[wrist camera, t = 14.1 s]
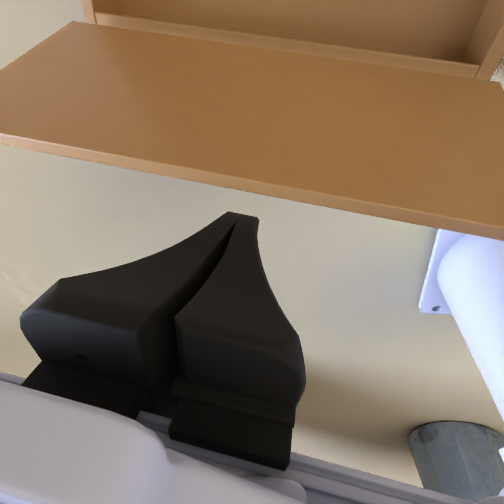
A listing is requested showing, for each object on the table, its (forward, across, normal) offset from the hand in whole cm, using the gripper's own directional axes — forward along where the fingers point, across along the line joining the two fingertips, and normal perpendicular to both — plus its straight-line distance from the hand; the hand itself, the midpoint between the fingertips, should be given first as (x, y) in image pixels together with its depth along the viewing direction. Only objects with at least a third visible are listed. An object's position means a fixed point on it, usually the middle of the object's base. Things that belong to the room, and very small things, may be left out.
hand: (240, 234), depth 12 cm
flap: (-1, 0, -5) cm, 5 cm away
